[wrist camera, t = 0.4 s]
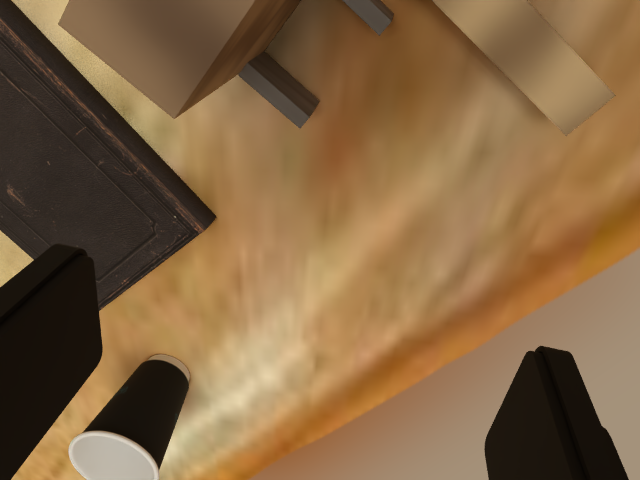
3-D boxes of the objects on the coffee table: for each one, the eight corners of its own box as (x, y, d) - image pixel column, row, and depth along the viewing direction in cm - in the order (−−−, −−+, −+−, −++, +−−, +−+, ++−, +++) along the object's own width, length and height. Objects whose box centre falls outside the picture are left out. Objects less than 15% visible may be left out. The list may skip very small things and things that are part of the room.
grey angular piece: (257, -121, 29) (149, -169, 17) (394, 13, 32) (382, 51, 20) (184, 0, 33) (56, 28, 21) (310, 111, 36) (259, 192, 24)
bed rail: (600, 70, 32) (631, 90, 27) (541, 121, 34) (560, 147, 29) (457, -83, 29) (465, -90, 24) (402, -18, 31) (401, -12, 26)
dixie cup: (208, 404, 53) (164, 502, 44) (138, 395, 54) (80, 488, 45) (199, 346, 49) (149, 440, 40) (123, 338, 50) (56, 427, 41)
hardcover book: (107, 299, 49) (95, 314, 47) (-103, 110, 42) (-128, 118, 40) (219, 213, 42) (210, 226, 40) (-9, -29, 35) (-34, -27, 33)
